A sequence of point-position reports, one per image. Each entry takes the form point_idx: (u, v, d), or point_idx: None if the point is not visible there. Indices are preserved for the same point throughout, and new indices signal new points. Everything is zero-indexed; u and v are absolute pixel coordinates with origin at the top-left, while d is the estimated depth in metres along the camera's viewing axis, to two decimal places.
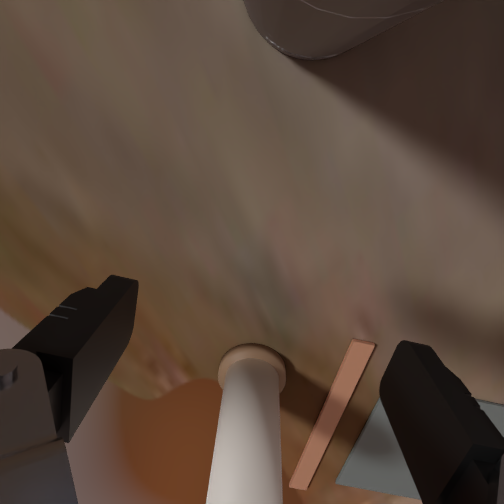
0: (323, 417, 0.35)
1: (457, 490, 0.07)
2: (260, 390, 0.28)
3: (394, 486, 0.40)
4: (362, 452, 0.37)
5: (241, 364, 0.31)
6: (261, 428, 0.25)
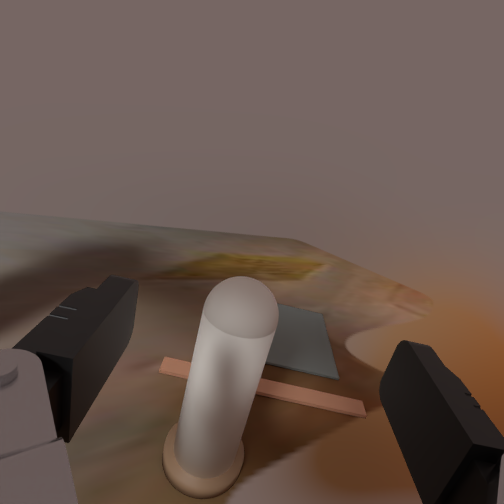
0: None
1: (457, 490, 0.07)
2: None
3: (319, 341, 0.47)
4: (290, 361, 0.41)
5: (176, 451, 0.26)
6: None
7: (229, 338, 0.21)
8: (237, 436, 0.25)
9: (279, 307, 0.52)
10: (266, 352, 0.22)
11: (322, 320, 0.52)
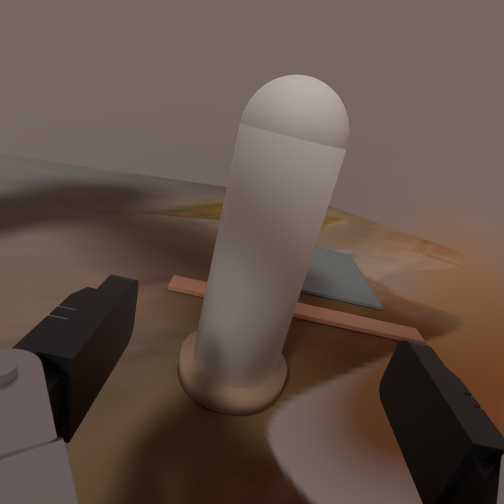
0: None
1: (457, 490, 0.07)
2: None
3: (353, 276, 0.40)
4: (323, 289, 0.34)
5: (198, 354, 0.19)
6: None
7: (284, 143, 0.14)
8: (284, 325, 0.18)
9: None
10: (332, 185, 0.16)
11: (351, 259, 0.45)
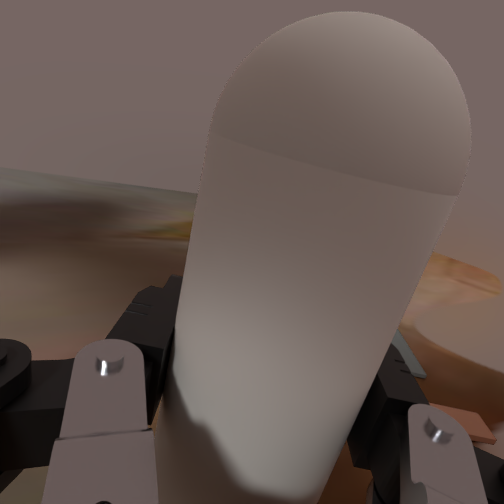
0: None
1: (376, 441, 0.08)
2: None
3: None
4: None
5: None
6: None
7: (321, 189, 0.05)
8: None
9: None
10: (421, 274, 0.07)
11: None
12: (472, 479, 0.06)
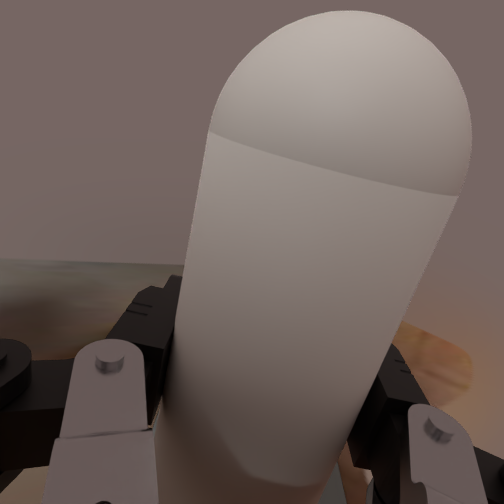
0: None
1: (376, 442, 0.08)
2: None
3: None
4: None
5: None
6: None
7: (321, 189, 0.05)
8: None
9: None
10: (421, 274, 0.07)
11: None
12: (472, 479, 0.06)
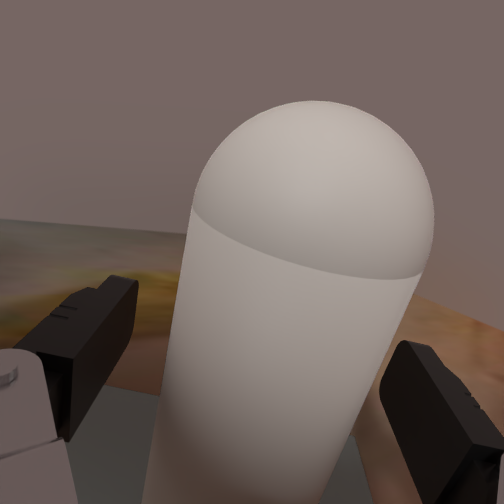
0: None
1: (457, 490, 0.07)
2: None
3: None
4: None
5: None
6: None
7: (290, 280, 0.05)
8: None
9: None
10: (392, 337, 0.07)
11: (358, 465, 0.19)
12: None
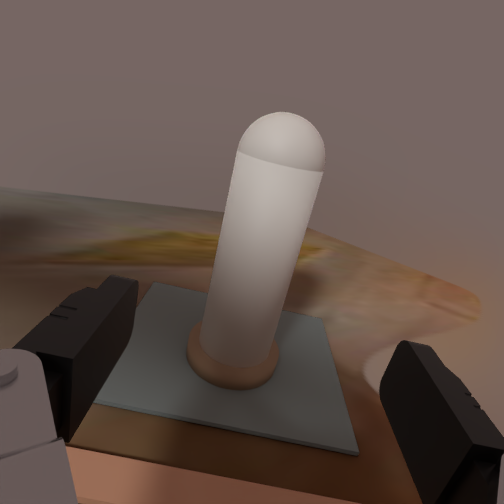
0: (164, 503, 0.15)
1: (457, 490, 0.07)
2: None
3: (318, 369, 0.26)
4: (258, 417, 0.20)
5: (203, 339, 0.23)
6: None
7: (272, 169, 0.17)
8: (275, 315, 0.22)
9: None
10: (312, 200, 0.19)
11: (322, 329, 0.31)
12: None
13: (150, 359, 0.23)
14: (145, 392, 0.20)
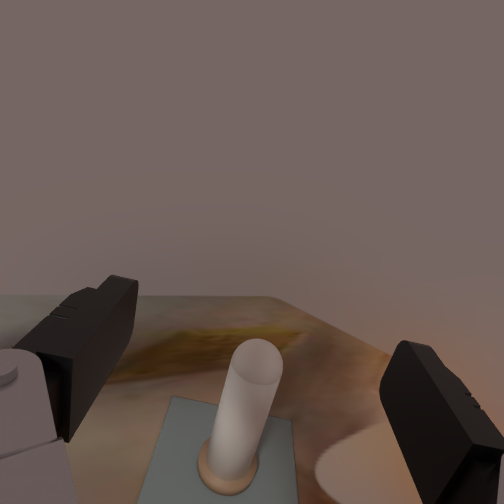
0: None
1: (457, 490, 0.07)
2: None
3: (283, 472, 0.39)
4: None
5: (208, 461, 0.36)
6: None
7: (250, 385, 0.31)
8: (253, 450, 0.35)
9: None
10: (274, 392, 0.33)
11: (290, 432, 0.44)
12: None
13: (174, 474, 0.36)
14: (173, 503, 0.33)
